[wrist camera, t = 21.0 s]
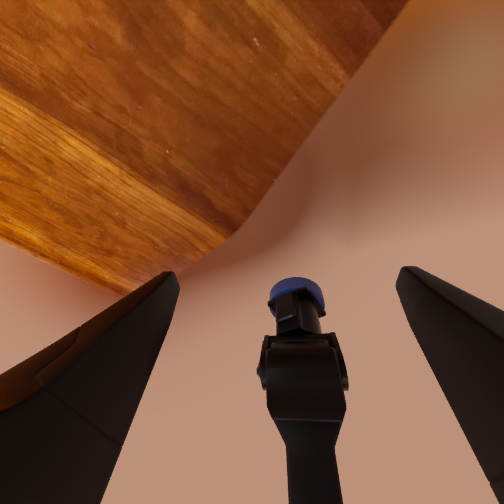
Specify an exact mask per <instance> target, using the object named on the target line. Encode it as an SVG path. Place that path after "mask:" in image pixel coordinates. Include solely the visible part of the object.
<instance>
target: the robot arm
mask: <svg viewBox="0 0 504 504" xmlns="http://www.w3.org/2000/svg"><path fill="white" fill-rule="evenodd" d="M396 290H397V293H398V295H399V298H400V301H401V303H402V306H403V309H404V312H405V314H406V317H407V320H408V322H409V325H410V327H411V329H412V331H413V333H414V335H415V337H416V339H417V341H418V343H419V345H420V347H421V349H422V351H423V353H424V355H425V357H426V359H427V361H428V363H429V365H430V367H431V369H432V371H433V373H434V375H435V377H436V379H437V381H438V382H439V384H440V387H441V389H442V391H443V392H444V394H445V396H446V398H447V400H448V402H449V404H450V406H451V408H452V410H453V412H454V414H455V416H456V418H457V420H458V422H459V424H460V426H461V428H462V430H463V432H464V434H465V436H466V438H467V440H468V442H469V444H470V446H471V448H472V450H473V452H474V454H475V456H476V458H477V460H478V462H479V464H480V466H481V468H482V469H483V472H484V474H485V476H486V477H487V479H488V481H489V482H490V486H491V488H492V490H493V492H494V494H495V496H496V498H497V500H498V502H499V504H504V311H502V310H501V309H498V308H497V307H495V306H493V305H491V304H489V303H486V302H485V301H483V300H481V299H479V298H477V297H475V296H473V295H471V294H469V293H467V292H465V291H463V290H461V289H459V288H457V287H455V286H453V285H451V284H449V283H447V282H445V281H443V280H442V279H440V278H438V277H436V276H434V275H431V274H430V273H428V272H426V271H424V270H422V269H420V268H418V267H416V266H404V267H402V268H401V270H400V273H399V276H398V278H397V281H396ZM179 291H180V286H179V283H178V281H177V278H176V275H175V273H174V272H172V271H165V272H162V273H161V274H159V275H158V276H156V277H154V278H153V279H151V280H150V281H148V282H147V283H145V284H144V285H142V286H141V287H139V288H138V289H136V290H135V291H133V292H131V293H130V294H128V295H127V296H125V297H124V298H122V299H121V300H119V301H118V302H116V303H115V304H113V305H112V306H110V307H109V308H107V309H105V310H104V311H102V312H101V313H99V314H98V315H96V316H95V317H93V318H92V319H90V320H89V321H87V322H86V323H84V324H83V325H81V327H78V328H76V329H75V330H73V331H72V332H70V333H69V334H67V335H66V336H64V337H62V338H61V339H59V340H58V341H56V342H55V343H53V344H51V345H50V346H48V347H47V348H45V349H43V350H41V351H40V352H38V353H36V354H35V355H33V356H31V357H30V358H28V359H26V360H25V361H23V362H21V363H19V364H18V365H16V366H14V367H13V368H11V369H9V370H7V371H6V372H4V373H2V374H1V375H0V504H100V503H101V500H102V498H103V495H104V493H105V490H106V488H107V485H108V483H109V480H110V477H111V475H112V472H113V470H114V467H115V465H116V462H117V460H118V457H119V454H120V452H121V449H122V446H123V444H124V441H125V439H126V436H127V434H128V431H129V428H130V426H131V423H132V421H133V418H134V416H135V413H136V411H137V408H138V405H139V403H140V400H141V398H142V395H143V393H144V390H145V388H146V385H147V382H148V380H149V377H150V375H151V372H152V370H153V367H154V365H155V362H156V359H157V357H158V354H159V352H160V349H161V347H162V344H163V341H164V339H165V336H166V334H167V331H168V329H169V326H170V323H171V320H172V317H173V313H174V309H175V306H176V302H177V298H178V295H179ZM268 306H269V307H270V309H271V310H272V311H273V312H274V313H275V314H276V332H277V333H276V334H277V335H276V336H269V335H265V337H264V341H263V344H262V351H261V356H260V362H259V364H258V367H257V375H258V376H259V377H260V379H261V383H262V388H263V390H266V391H267V392H266V393H267V408H268V410H269V413H270V415H271V417H272V419H273V420H274V422H275V424H276V426H277V428H278V430H279V432H280V434H281V436H282V439H283V440H284V443H285V445H286V455H287V476H288V497H289V504H343V501H342V494H341V487H340V481H339V475H338V468H337V462H336V456H335V445H336V441H337V438H338V435H339V431H340V428H341V425H342V422H343V418H344V415H345V412H346V401H345V396H344V391H348V388H349V386H348V376H347V371H346V366H345V362H344V359H343V355H342V352H341V349H340V346H339V343H338V340H337V337H336V335H335V333H334V332H331V333H325V334H322V332H321V327H320V322H319V318H320V317H323V316H325V315H326V312H325V310H324V309H323V307H322V306H321V305H320V303H319V302H318V301H317V299H316V298H315V297H314V295H313V294H312V293H311V291H310V290H309V289H308V288H307V287H306V286H304V287H301V288H298V289H296V290H294V291H291V292H289V293H286V294H284V295H282V296H279V297H277V298H275V299H272V300H270V301H268Z"/></svg>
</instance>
